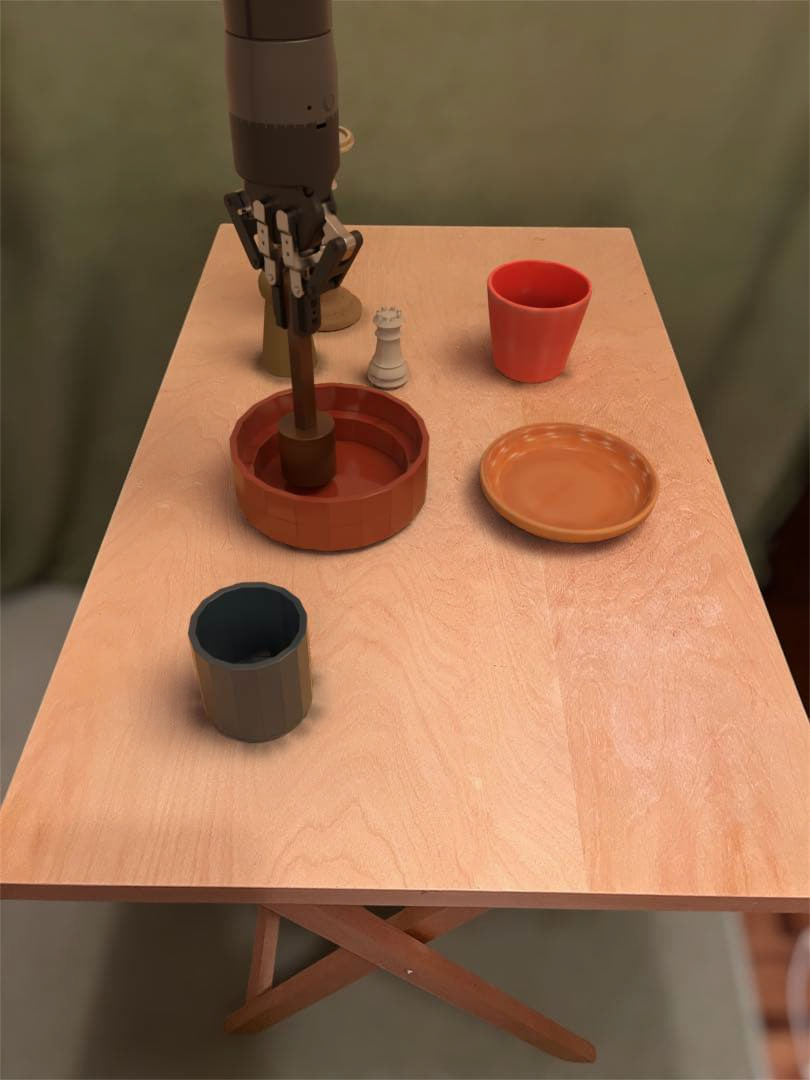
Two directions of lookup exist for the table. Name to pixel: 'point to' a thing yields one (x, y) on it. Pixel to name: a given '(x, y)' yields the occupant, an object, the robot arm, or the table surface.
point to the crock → (252, 660)
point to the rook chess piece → (388, 351)
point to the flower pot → (535, 317)
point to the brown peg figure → (275, 337)
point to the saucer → (568, 481)
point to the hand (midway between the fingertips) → (298, 328)
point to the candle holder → (340, 302)
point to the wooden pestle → (304, 416)
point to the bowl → (362, 470)
